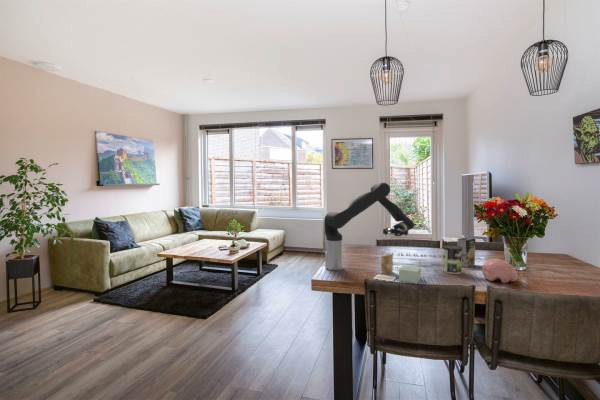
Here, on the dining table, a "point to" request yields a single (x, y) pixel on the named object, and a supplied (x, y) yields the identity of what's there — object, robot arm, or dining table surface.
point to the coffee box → (467, 251)
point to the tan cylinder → (387, 263)
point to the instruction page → (384, 277)
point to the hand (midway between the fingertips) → (392, 233)
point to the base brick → (409, 274)
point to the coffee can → (451, 259)
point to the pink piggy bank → (499, 270)
